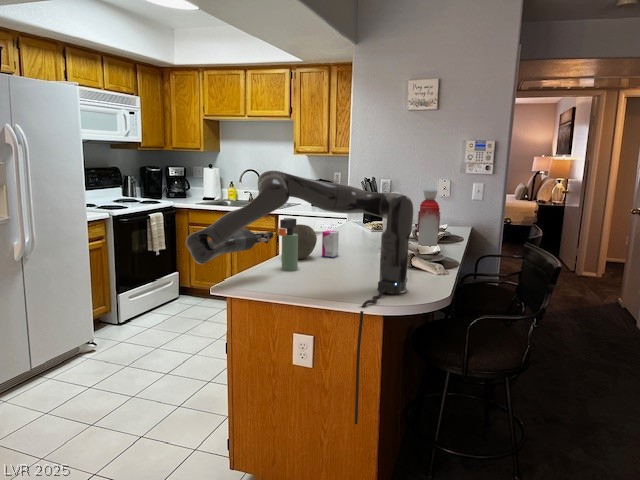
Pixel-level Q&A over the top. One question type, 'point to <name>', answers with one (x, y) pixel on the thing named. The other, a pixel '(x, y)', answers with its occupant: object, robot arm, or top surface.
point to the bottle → (428, 219)
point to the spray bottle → (289, 245)
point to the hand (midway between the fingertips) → (271, 234)
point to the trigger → (282, 232)
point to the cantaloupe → (305, 240)
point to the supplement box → (330, 244)
